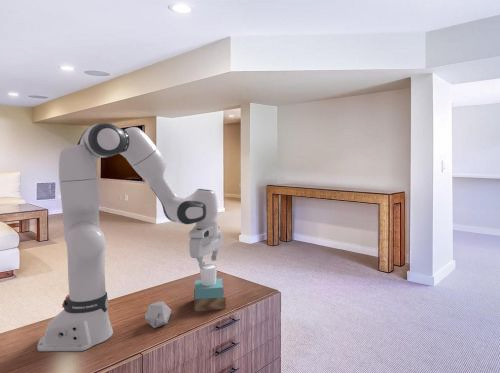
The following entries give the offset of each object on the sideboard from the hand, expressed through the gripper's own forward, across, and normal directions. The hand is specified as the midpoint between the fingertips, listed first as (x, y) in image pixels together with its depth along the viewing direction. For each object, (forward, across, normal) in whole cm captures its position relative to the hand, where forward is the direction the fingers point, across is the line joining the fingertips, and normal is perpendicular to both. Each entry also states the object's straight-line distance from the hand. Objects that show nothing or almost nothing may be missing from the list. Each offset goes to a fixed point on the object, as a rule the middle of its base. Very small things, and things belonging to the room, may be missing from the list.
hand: (208, 263), depth 145 cm
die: (+17, +22, -8) cm, 29 cm away
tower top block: (+12, 0, 0) cm, 12 cm away
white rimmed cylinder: (+8, 0, 0) cm, 8 cm away
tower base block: (+17, 0, 0) cm, 17 cm away
